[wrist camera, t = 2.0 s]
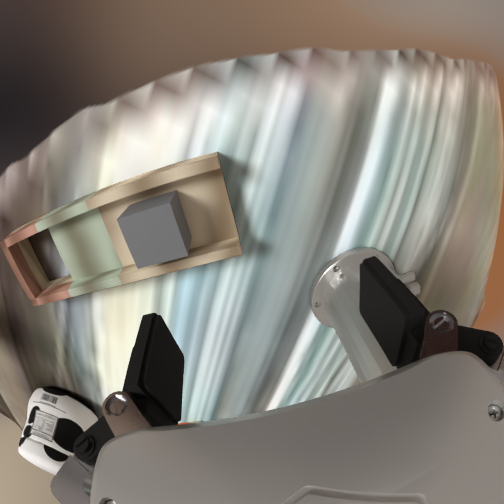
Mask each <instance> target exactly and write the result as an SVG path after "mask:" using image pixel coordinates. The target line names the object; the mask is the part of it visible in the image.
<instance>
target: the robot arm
mask: <svg viewBox="0 0 504 504" xmlns="http://www.w3.org/2000/svg"><path fill="white" fill-rule="evenodd" d="M414 280H415V274H414V272H413V271H410V272H407V273H405V274H403V275H399V274H396V273H395V270H394V266H393V264H392V262H391V261H390V259H389V258H388V257H387V256H386V255H385V254H384V253H382V252H381V251H379V250H377V249H374V248H367V247H363V248H356V249H352V250H349V251H346V252H344V253H342V254H340V255H339V256H337V257H335V258H334V259H332V260H331V261H330V262H329V263H328V264H327V265H326V266H325V267H324V268H323V269H322V270H321V272H320V273H319V274H318V276H317V277H316V279H315V281H314V283H313V286H312V288H311V293H310V305H311V308H312V311H313V313H314V315H315V317H316V318H317V319H318V320H319V321H320V322H321V323H322V324H324V325H326V326H329V327H333V328H334V329H335V331H336V333H337V335H338V337H339V339H340V341H341V343H342V345H343V347H344V349H345V351H346V353H347V355H348V357H349V359H350V361H351V363H352V365H353V367H354V370H355V372H356V374H357V376H358V378H359V380H360V382H361V384H358V385H355V386H353V387H350V388H347V389H344V390H341V391H338V392H335V393H332V394H328V395H325V396H322V397H319V398H315V399H312V400H308V401H305V402H301V403H297V404H294V405H290V406H286V407H282V408H277V409H273V410H269V411H264V412H259V413H254V414H249V415H244V416H238V417H233V418H227V419H220V420H213V421H206V422H197V423H189V424H180V425H178V421H180V420H181V410H182V390H183V374H184V356H183V353H182V351H181V350H180V348H179V346H178V345H177V343H176V341H175V340H174V338H173V336H172V334H171V333H170V331H169V329H168V327H167V326H166V324H165V322H164V320H163V318H162V317H161V316H160V315H157V314H156V313H151V314H147V315H143V317H142V320H141V324H140V327H139V331H138V335H137V338H136V342H135V346H134V347H133V350H132V353H131V357H130V361H129V365H128V369H127V374H126V378H125V382H124V386H123V391H118V392H114V393H112V394H110V395H109V396H108V397H107V398H106V399H105V401H104V402H103V405H102V412H103V415H104V416H102V417H101V418H100V419H99V420H98V421H96V422H95V423H94V424H93V425H92V426H90V427H89V428H88V429H87V430H86V431H84V432H83V433H82V434H81V435H80V436H79V437H78V438H77V439H76V440H75V442H74V446H73V451H74V455H73V456H72V455H70V456H69V457H68V458H67V460H66V461H65V463H64V464H63V465H62V467H61V468H60V470H59V471H58V472H57V474H56V475H55V476H54V478H53V480H52V482H51V491H52V493H53V495H54V496H55V497H56V498H57V500H58V501H59V502H60V503H61V504H504V346H503V342H502V340H501V339H500V337H499V336H498V335H496V334H495V333H493V332H489V331H484V330H479V329H473V328H469V327H464V326H459V325H458V323H457V319H456V318H455V316H454V315H453V314H452V313H450V312H448V311H444V310H436V311H433V312H431V313H429V311H428V310H427V309H426V308H425V307H424V306H423V304H422V303H421V302H420V301H419V300H418V299H417V298H416V297H415V296H416V295H418V294H420V285H419V284H418V282H413V283H410V284H407V285H405V283H409V282H411V281H414Z"/></svg>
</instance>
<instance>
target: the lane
mask: <svg viewBox="0 0 504 504" xmlns="http://www.w3.org/2000/svg"><path fill="white" fill-rule="evenodd" d="M175 190H177V193H178V196H179V199H180V202H181V205H182V209H183V212H184V215H185V218H186V221H187V224H188V227H189V230H190V233H191V236H192V239H191V244H190V250H189V255H188V256H186V257H182V258H178V259H174V260H170V261H167V262H163V263H159V264H155V265H151V266H147V267H144V268H140V269H138V268H137V266H136V264H135V262H134V260H133V257H132V255H131V253H130V251H129V248H128V246H127V244H126V241H125V239H124V236H123V234H122V232H121V229H120V227H119V224H118V222H117V219H118V217H119V216H120V215H121V214H122V213H123V212H124V211H125V210H126V208H127V207H128V206H129V205H131V204H134V203H137V202H140V201H143V200H146V199H149V198H152V197H155V196H159V195H162V194H165V193H168V192H172V191H175ZM47 228H48V229H49V231H50V234H51V236H52V238H53V240H54V243H55V245H56V247H57V249H58V251H59V253H60V255H61V257H62V259H63V261H64V263H65V265H66V267H67V269H68V271H69V273H70V275H68V276H65V277H62V278H58V279H55V280H52V281H49V279H48V278H47V276H46V274H45V272H44V270H43V268H42V266H41V264H40V262H39V261H38V259H37V257H36V254H35V252H34V250H33V248H32V246H31V244H30V242H29V240H28V237H29V236H32V235H34V234H36V233H38V232H40V231H42V230H44V229H47ZM0 245H1V247H2V249H3V251H4V253H5V255H6V257H7V259H8V261H9V263H10V265H11V267H12V269H13V271H14V273H15V275H16V277H17V279H18V280H19V282H20V284H21V286H22V287H23V289H24V291H25V293H26V294H27V296H28V298H29V299H30V301H31V302H32V304H33V306H38V305H42V304H46V303H50V302H54V301H58V300H62V299H66V298H70V297H74V296H78V295H82V294H86V293H90V292H94V291H98V290H102V289H106V288H110V287H114V286H118V285H122V284H126V283H130V282H134V281H138V280H142V279H146V278H150V277H154V276H158V275H162V274H166V273H170V272H174V271H179V270H183V269H187V268H191V267H195V266H199V265H203V264H207V263H211V262H215V261H219V260H223V259H227V258H231V257H235V256H239V255H243V254H242V249H241V244H240V238H239V234H238V230H237V227H236V223H235V219H234V215H233V211H232V207H231V204H230V200H229V196H228V192H227V188H226V184H225V180H224V176H223V173H222V169H221V165H220V161H219V157H218V153H217V152H214V153H210V154H206V155H203V156H199V157H196V158H192V159H189V160H185V161H182V162H178V163H175V164H172V165H169V166H165V167H162V168H159V169H156V170H153V171H150V172H147V173H144V174H141V175H138V176H136V177H133V178H130V179H127V180H124V181H122V182H119V183H116V184H114V185H111V186H109V187H106V188H104V189H101V190H99V191H96V192H94V193H91V194H89V195H86V196H84V197H82V198H79V199H77V200H75V201H73V202H70V203H68V204H66V205H64V206H61V207H59V208H57V209H55V210H53V211H51V212H49V213H47V214H45V215H43V216H41V217H39V218H37V219H35V220H33V221H31V222H29V223H27V224H25V225H23V226H21V227H19V228H17V229H16V230H15V231H13V232H12V233H11V234H10V235H8V236H7V237H6V238H5V239H3V240H2V241H1V242H0Z"/></svg>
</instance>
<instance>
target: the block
mask: <svg viewBox="0 0 504 504" xmlns="http://www.w3.org/2000/svg"><path fill="white" fill-rule="evenodd" d="M117 222H118V224H119V227H120V229H121V232H122V234H123V236H124V239H125V241H126V244H127V246H128V248H129V251H130V253H131V255H132V257H133V260H134V262H135V264H136V266H137V268H138V269H140V268H144V267H147V266H151V265H155V264H159V263H163V262H167V261H170V260H174V259H178V258H182V257H186V256H188V255H189V250H190V244H191V239H192V236H191V233H190V230H189V227H188V224H187V221H186V218H185V215H184V212H183V209H182V205H181V202H180V199H179V196H178V193H177V190H175V191H172V192H168V193H165V194H162V195H159V196H155V197H152V198H149V199H146V200H143V201H140V202H137V203H134V204H131V205H129V206H128V207H127V208H126V210H125V211H124V212H123V213H122V214H121V215H120V216H119V217H118V219H117Z"/></svg>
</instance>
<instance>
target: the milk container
mask: <svg viewBox="0 0 504 504" xmlns="http://www.w3.org/2000/svg"><path fill="white" fill-rule="evenodd" d="M96 421H98V418H97V416H96V414H95V413H94V412H93V411H92V410H91V409H90V408H89V407H88V406H87V405H85V404H84V403H82V402H81V401H80V400H78V399H76V398H74V397H73V396H71V395H69V394H67V393H64V392H62V391H60V390H57V389H53V388H49V387H48V388H47V387H41V388H38V389H37V390H35V391H34V393H33V394H32V396H31V398H30V400H29V403H28V414H27V421H26V424H25V427H24V430H23V432H22V438H21V440H20V443H19V449H18V450H19V453H20V455H22V456H23V457H24V458H25V459H27V460H28V461H30V462H31V463H33V464H34V465H36V466H38V467H40V468H41V469H43V470H45V471H47V472H49V473H51V474H54V475H56V474H57V472H58V471H59V470H60V468H61V467H62V465H63V464H64V463H65V461H66V460H67V458H68V457H69V456H70V455H72V456H73V455H74V451H73V446H74V442H75V440H76V439H77V438H78V437H79V436H80V435H81V434H82V433H83V432H84V431H86V430H87V429H88V428H89V427H90V426H92V425H93V424H94V423H95V422H96Z"/></svg>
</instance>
